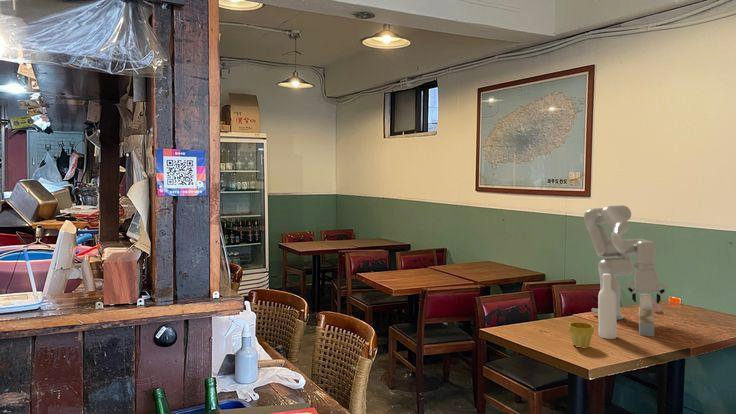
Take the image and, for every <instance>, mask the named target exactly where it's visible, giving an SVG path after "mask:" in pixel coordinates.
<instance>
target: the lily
mask: <svg viewBox="0 0 736 414" xmlns="http://www.w3.org/2000/svg"><path fill="white" fill-rule="evenodd" d="M647 292H648V293H647V294H651V293H650V291H647ZM652 299H653V297H652ZM653 308H655V309H656V310H657V312H658V313H659V314H660V310H661V311H662V307H660V305H659V304H658V303H657V300H654V299H653Z"/></svg>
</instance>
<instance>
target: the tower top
mask: <svg viewBox="0 0 736 414" xmlns="http://www.w3.org/2000/svg"><path fill="white" fill-rule="evenodd" d="M639 322H640V323H650V324H654V325H655V310H654V309H653V310H651V311H646V310H641V309H640V306H638V323H639Z"/></svg>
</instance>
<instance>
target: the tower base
mask: <svg viewBox="0 0 736 414" xmlns="http://www.w3.org/2000/svg"><path fill="white" fill-rule="evenodd" d="M638 332H639V333H638V334H639V336H647V337H655V323H654V324H650V323H640V322H639V321H638Z"/></svg>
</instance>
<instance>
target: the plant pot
mask: <svg viewBox="0 0 736 414" xmlns="http://www.w3.org/2000/svg"><path fill="white" fill-rule="evenodd" d="M594 327H595V326H594V324H591V323H588V322H583V321H573V322H570V323H569V324H568V332H569V333H570V338H571V342H572V345H573V344H574V345H576V346H580V347H588V346H589V347H590V344H591V340H592V336H593V335H594V329H595V328H594Z"/></svg>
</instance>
